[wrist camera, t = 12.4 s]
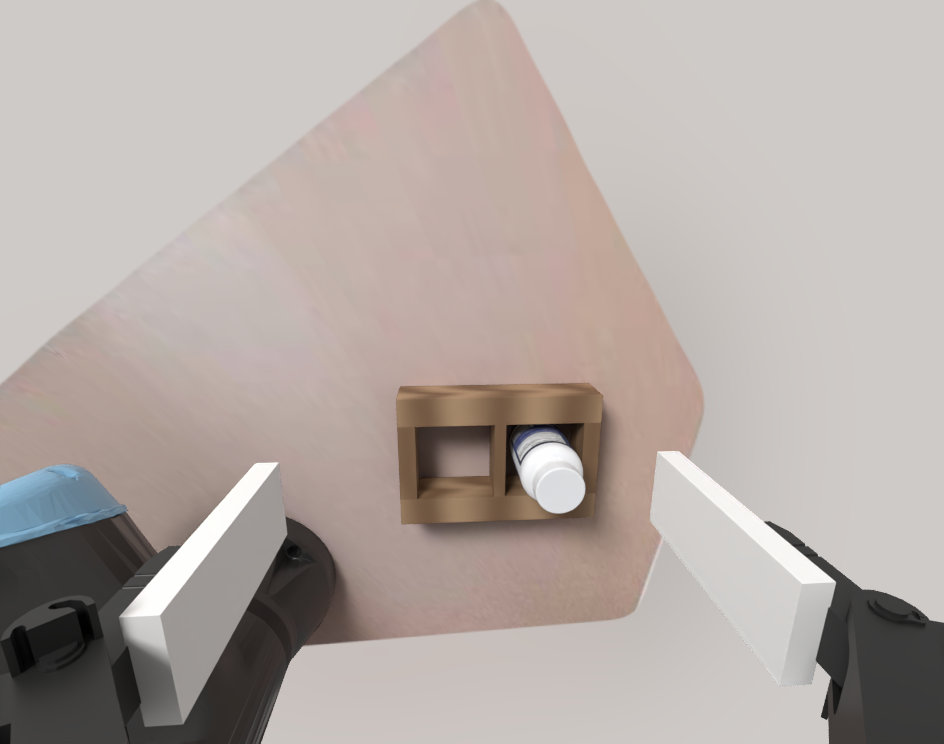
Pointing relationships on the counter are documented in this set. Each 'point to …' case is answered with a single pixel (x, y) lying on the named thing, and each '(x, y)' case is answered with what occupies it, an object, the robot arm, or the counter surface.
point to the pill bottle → (547, 466)
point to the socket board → (492, 448)
